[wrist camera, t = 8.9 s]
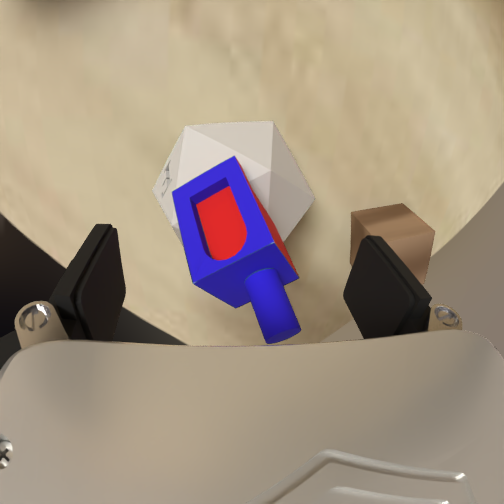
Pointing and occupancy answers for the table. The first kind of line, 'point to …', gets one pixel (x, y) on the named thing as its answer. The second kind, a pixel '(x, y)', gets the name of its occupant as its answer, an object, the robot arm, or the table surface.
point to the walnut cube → (395, 235)
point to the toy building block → (236, 247)
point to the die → (252, 161)
